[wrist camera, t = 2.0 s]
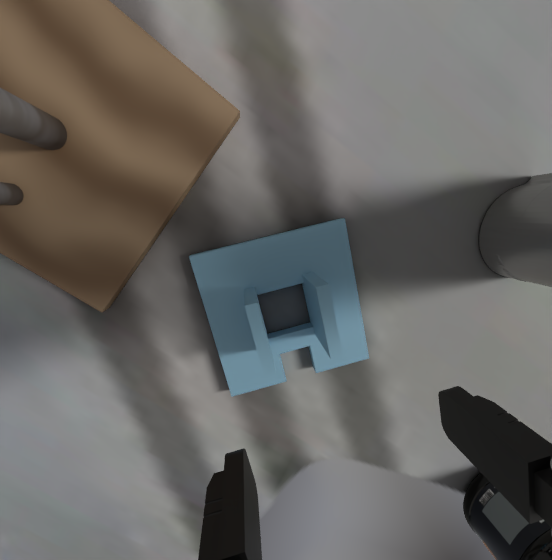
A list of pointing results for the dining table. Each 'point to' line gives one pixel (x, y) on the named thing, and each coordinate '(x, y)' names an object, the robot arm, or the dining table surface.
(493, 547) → the supplement container
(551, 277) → the robot arm
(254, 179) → the dining table surface
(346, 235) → the flange plate
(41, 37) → the post board
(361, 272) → the dining table surface
